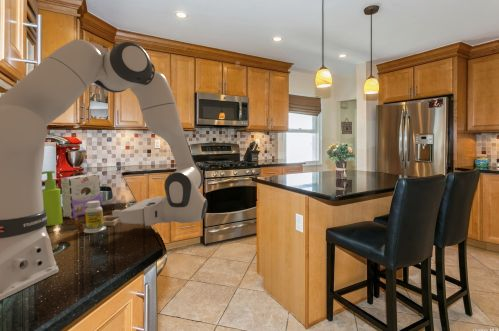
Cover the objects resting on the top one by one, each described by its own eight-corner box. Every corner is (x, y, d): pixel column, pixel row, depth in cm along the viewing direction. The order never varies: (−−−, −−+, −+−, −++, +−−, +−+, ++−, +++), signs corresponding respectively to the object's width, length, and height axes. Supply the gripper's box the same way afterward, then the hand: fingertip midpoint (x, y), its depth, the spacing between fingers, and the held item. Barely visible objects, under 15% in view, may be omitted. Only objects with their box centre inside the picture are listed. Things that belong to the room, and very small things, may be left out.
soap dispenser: (37, 225, 107) (33, 172, 105) (56, 220, 114) (52, 170, 112) (47, 227, 105) (42, 172, 103) (66, 222, 111) (62, 170, 109)
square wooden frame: (113, 225, 106) (113, 221, 106) (93, 225, 107) (92, 221, 107) (125, 219, 114) (124, 215, 114) (105, 219, 115) (105, 215, 114)
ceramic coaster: (98, 233, 98) (98, 232, 98) (78, 232, 98) (78, 231, 98) (110, 226, 105) (110, 225, 104) (91, 226, 105) (91, 225, 105)
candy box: (93, 209, 131) (90, 173, 130) (102, 210, 129) (99, 174, 127) (62, 217, 119) (59, 177, 117) (72, 218, 116) (69, 178, 115)
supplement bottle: (102, 225, 105) (101, 199, 104) (104, 229, 101) (102, 202, 100) (85, 228, 102) (83, 201, 101) (86, 232, 98) (84, 204, 97)
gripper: (170, 194, 109) (134, 194, 110) (146, 207, 88) (103, 207, 90) (171, 210, 109) (135, 210, 111) (147, 227, 89) (104, 227, 90)
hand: (121, 209), depth 100 cm, fingers open, 8 cm apart
